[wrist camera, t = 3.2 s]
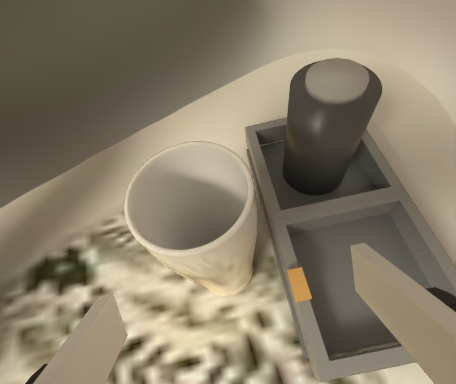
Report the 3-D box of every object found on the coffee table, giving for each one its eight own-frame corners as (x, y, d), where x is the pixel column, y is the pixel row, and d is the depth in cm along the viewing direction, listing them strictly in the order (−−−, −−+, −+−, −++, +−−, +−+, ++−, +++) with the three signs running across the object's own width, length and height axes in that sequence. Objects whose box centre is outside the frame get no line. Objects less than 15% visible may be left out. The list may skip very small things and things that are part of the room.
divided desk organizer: (309, 377, 20) (359, 412, 9) (244, 147, 33) (234, 49, 22) (472, 343, 20) (715, 339, 9) (344, 125, 33) (382, 16, 22)
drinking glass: (262, 238, 27) (259, 138, 14) (259, 309, 23) (250, 263, 11) (199, 234, 28) (142, 138, 15) (187, 301, 24) (101, 251, 12)
